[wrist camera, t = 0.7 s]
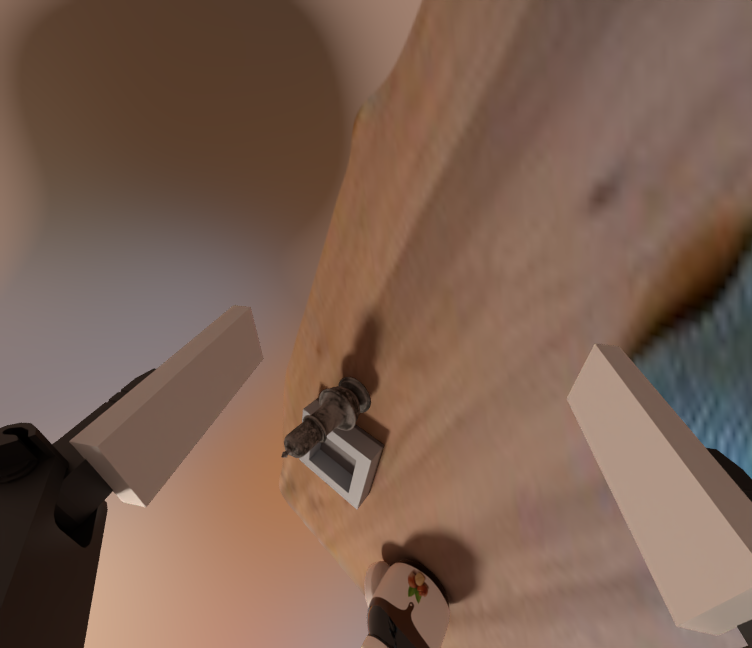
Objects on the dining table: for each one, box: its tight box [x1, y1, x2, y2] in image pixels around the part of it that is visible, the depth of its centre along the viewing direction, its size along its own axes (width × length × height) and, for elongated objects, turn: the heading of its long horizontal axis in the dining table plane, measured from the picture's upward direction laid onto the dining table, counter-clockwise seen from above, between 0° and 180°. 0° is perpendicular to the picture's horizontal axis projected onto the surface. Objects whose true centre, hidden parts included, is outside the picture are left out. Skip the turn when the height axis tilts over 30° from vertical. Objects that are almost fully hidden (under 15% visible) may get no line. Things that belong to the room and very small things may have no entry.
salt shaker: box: [282, 377, 371, 458], centre depth 34 cm, size 6×6×12 cm
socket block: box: [299, 398, 384, 509], centre depth 44 cm, size 12×12×3 cm
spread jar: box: [361, 560, 450, 648], centre depth 42 cm, size 12×11×12 cm
